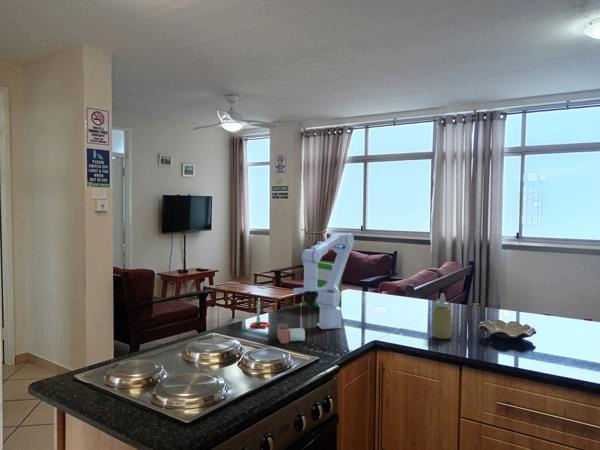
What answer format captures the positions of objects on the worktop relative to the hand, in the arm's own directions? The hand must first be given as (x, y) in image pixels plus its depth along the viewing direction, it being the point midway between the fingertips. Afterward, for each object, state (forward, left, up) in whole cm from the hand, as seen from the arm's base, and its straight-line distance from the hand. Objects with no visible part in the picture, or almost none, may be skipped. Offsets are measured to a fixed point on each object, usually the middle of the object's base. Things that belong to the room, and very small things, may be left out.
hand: (309, 309), depth 181 cm
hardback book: (-22, -49, -10) cm, 54 cm away
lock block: (+8, +8, -10) cm, 15 cm away
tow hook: (+19, -16, -10) cm, 27 cm away
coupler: (+12, +8, -10) cm, 17 cm away
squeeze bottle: (-51, +18, -10) cm, 55 cm away
